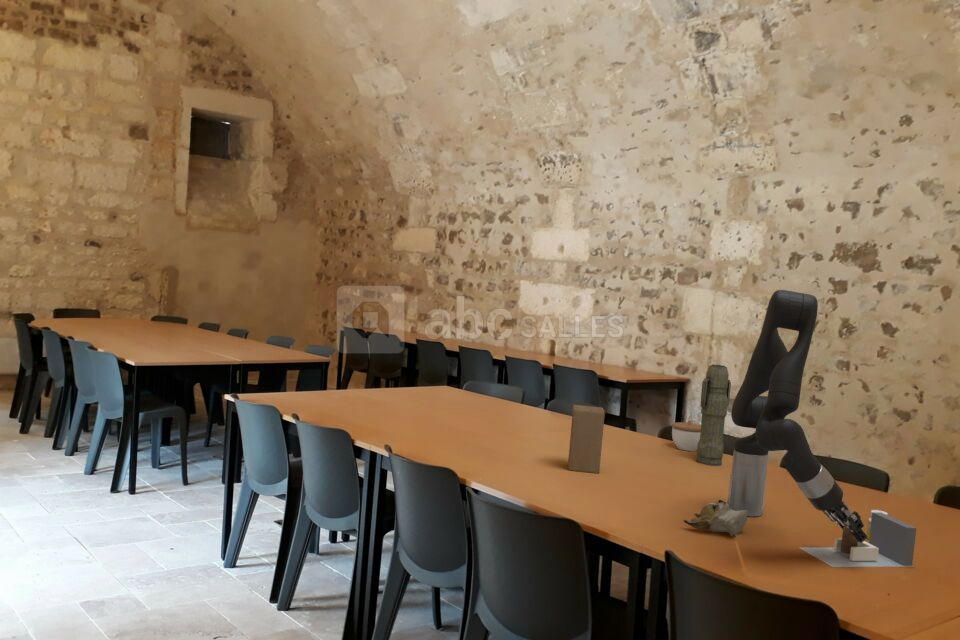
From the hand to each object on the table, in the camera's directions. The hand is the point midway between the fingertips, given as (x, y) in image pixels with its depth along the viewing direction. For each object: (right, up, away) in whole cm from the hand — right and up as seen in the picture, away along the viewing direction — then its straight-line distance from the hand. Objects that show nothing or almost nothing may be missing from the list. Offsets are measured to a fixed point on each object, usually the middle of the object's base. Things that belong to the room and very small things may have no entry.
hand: (857, 536), depth 200 cm
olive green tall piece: (-8, 0, +100) cm, 100 cm away
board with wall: (0, -6, 0) cm, 6 cm away
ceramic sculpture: (-29, -3, +16) cm, 34 cm away
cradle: (0, -5, 0) cm, 5 cm away
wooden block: (-56, +3, +75) cm, 94 cm away
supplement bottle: (+12, -6, +16) cm, 21 cm away
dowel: (-2, -4, 0) cm, 4 cm away
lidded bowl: (-11, +2, +122) cm, 122 cm away
